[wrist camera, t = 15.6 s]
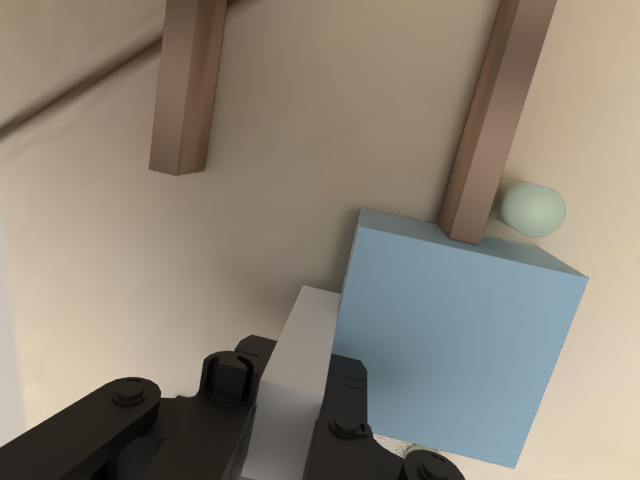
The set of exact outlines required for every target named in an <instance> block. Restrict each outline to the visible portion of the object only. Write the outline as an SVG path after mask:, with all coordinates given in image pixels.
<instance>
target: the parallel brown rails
mask: <svg viewBox="0 0 640 480" xmlns="http://www.w3.org/2000/svg"><path fill="white" fill-rule="evenodd" d="M227 1H228V0H167V4H166V13H165V23H164V32H163V41H162V51H161V60H160V69H159V79H158V88H157V97H156V107H155V116H154V125H153V135H152V144H151V153H150V163H149V170H153V171H157V172H162V173H166V174H170V175H175V176H178V175H184V174H190V173H195V172H201V171H204V166H205V159H206V151H207V144H208V137H209V130H210V123H211V116H212V109H213V101H214V94H215V87H216V80H217V73H218V66H219V59H220V51H221V44H222V37H223V30H224V23H225V16H226V9H227ZM556 2H557V0H501V3H500V7H499V10H498V14H497V17H496V21H495V24H494V28H493V31H492V35H491V38H490V42H489V45H488V49H487V52H486V56H485V59H484V63H483V66H482V70H481V73H480V76H479V80H478V83H477V87H476V90H475V94H474V97H473V101H472V104H471V108H470V111H469V115H468V118H467V122H466V125H465V129H464V132H463V136H462V139H461V142H460V146H459V149H458V153H457V156H456V160H455V163H454V167H453V170H452V174H451V177H450V181H449V184H448V188H447V191H446V195H445V198H444V202H443V205H442V208H441V212H440V215H439V219H438V222H437V225H438V226H439V227H440V228H441V229H442V230H443V232H444V233H445V234H446V235H447V236H448V238H450V239H454V240H459V241H463V242H467V243H472V244H476V245H479V244H480V241H481V238H482V235H483V231H484V228H485V225H486V222H487V219H488V216H489V213H490V209H491V206H492V203H493V200H494V197H495V194H496V191H497V187H498V184H499V181H500V178H501V175H502V172H503V169H504V165H505V162H506V159H507V156H508V153H509V150H510V147H511V143H512V140H513V137H514V134H515V131H516V128H517V125H518V121H519V118H520V115H521V112H522V109H523V106H524V102H525V99H526V96H527V93H528V90H529V87H530V84H531V80H532V77H533V74H534V71H535V68H536V65H537V62H538V58H539V55H540V52H541V49H542V46H543V43H544V40H545V36H546V33H547V30H548V27H549V24H550V21H551V18H552V14H553V11H554V8H555V5H556Z"/></svg>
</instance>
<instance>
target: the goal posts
mask: <svg viewBox="0 0 640 480" xmlns="http://www.w3.org/2000/svg"><path fill="white" fill-rule="evenodd" d="M490 214H491V215H492V216H493V217H495V218H496V219H498V220H500V221H501V222H503V223H505V224H506V225H508V226H510V227H511V228H513V229H515V230H516V231H518V232H520V233H521V234H523V235H525V236H528V237H533V238H538V237H544V236H547V235H549V234H551V233H553V232H554V231H555V230H557V229H558V228H559V226H560V225H561V224H562V222H563V220H564V218H565V214H566V205H565V202H564V199H563V198H562V196H561V195H560V194H559V193H558V192H557V191H555V190H554V189H552V188H549V187H545V186H541V185H537V184H533V183H529V182H525V181H521V180H517V179H513V178H504V179H501V180H500V181H499V184H498V187H497V191H496V194H495V197H494V200H493V203H492V206H491V209H490ZM421 449H424V450H428V451H433V452H436V453H438V451H437V450H436V449H434V448H430V447H426V446H422V445H418V444H417V445H414V446H412V447H410V448H409V449H408V450H407V451H406V453H405V455H404V459H405V457H406V454H408V453H409V452H411V451H413V450H421ZM438 454H439V453H438Z"/></svg>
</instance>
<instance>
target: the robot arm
mask: <svg viewBox="0 0 640 480" xmlns="http://www.w3.org/2000/svg"><path fill="white" fill-rule="evenodd" d="M340 299H341V294H338V293H334V292H330V291H326V290H322V289H317V288H313V287H309V286H305V285H303V286H302V288H301V290H300V293H299V295H298V297H297V299H296V302H295V304H294V306H293V308H292V310H291V313H290V315H289V317H288V319H287V322H286V324H285V326H284V328H283V330H282V333H281V335H280V337H279V339H278V341H275V340H271V339H267V338H263V337H259V336H255V335H250V336H248V337H246V338H244V339H243V340H241V341H240V342H239V344H238V345H237V347H236V348H235V351H234V352H233V351H221V352H216V353H213V354H210V355H209V356H208V357H206V358H205V359H204V362H203V368H202V374H201V381H200V387H199V391H198V392H197V394H196V395H195V396H193V397H188V398H161V390H160V388H159V386H158V385H157V384H155V383H154V382H152V381H151V380H147V379H144V378H140V377H127V378H121V379H116V380H114V381H112V382H109V383H107V384H105V385H103V386H102V387H100V388H98V389H97V390H95V391H93V392H92V393H90V394H88V395H87V396H85V397H83V398H82V399H80V400H78V401H77V402H75V403H73V404H72V405H70V406H68V407H67V408H65V409H63V410H62V411H60V412H58V413H57V414H55V415H53V416H52V417H50V418H49V419H47V420H45V421H44V422H42V423H40V424H39V425H37V426H35V427H34V428H32V429H30V430H29V431H27V432H25V433H24V434H22V435H20V436H19V437H17V438H15V439H14V440H12V441H10V442H9V443H7V444H5V445H4V446H2V447H1V448H0V480H238V478H239V475H240V472H241V470H242V474H241V476H243V477H247V478H251V479H254V480H465V478H464V476H463V475H462V473H461V472H460V471H459V469H458V468H457V467H456V465H454V464H453V463H452V462H451V461H449V460H448V459H447V458H446V457H444V456H442V455H440V454H438V453H436V452H433V451H428V450H424V449H421V450H413V451H411V452H409V453H408V454H406V457H405V459H403V458H401V457H399V456H397V455H395V454H393V453H391V452H390V451H388V450H387V449H385V448H383V447H382V446H381V445H380V444H379V443H378V442H376V440H375V439H374V438H373V433H372V430H371V427H370V425H369V424H368V403H367V369H366V368H365V366H364V365H363V363H362V361H361V360H357V359H353V358H349V357H344V356H340V355H336V354H332V353H331V351H332V345H333V339H334V334H335V328H336V322H337V316H338V310H339V304H340ZM242 467H243V469H242Z"/></svg>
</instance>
